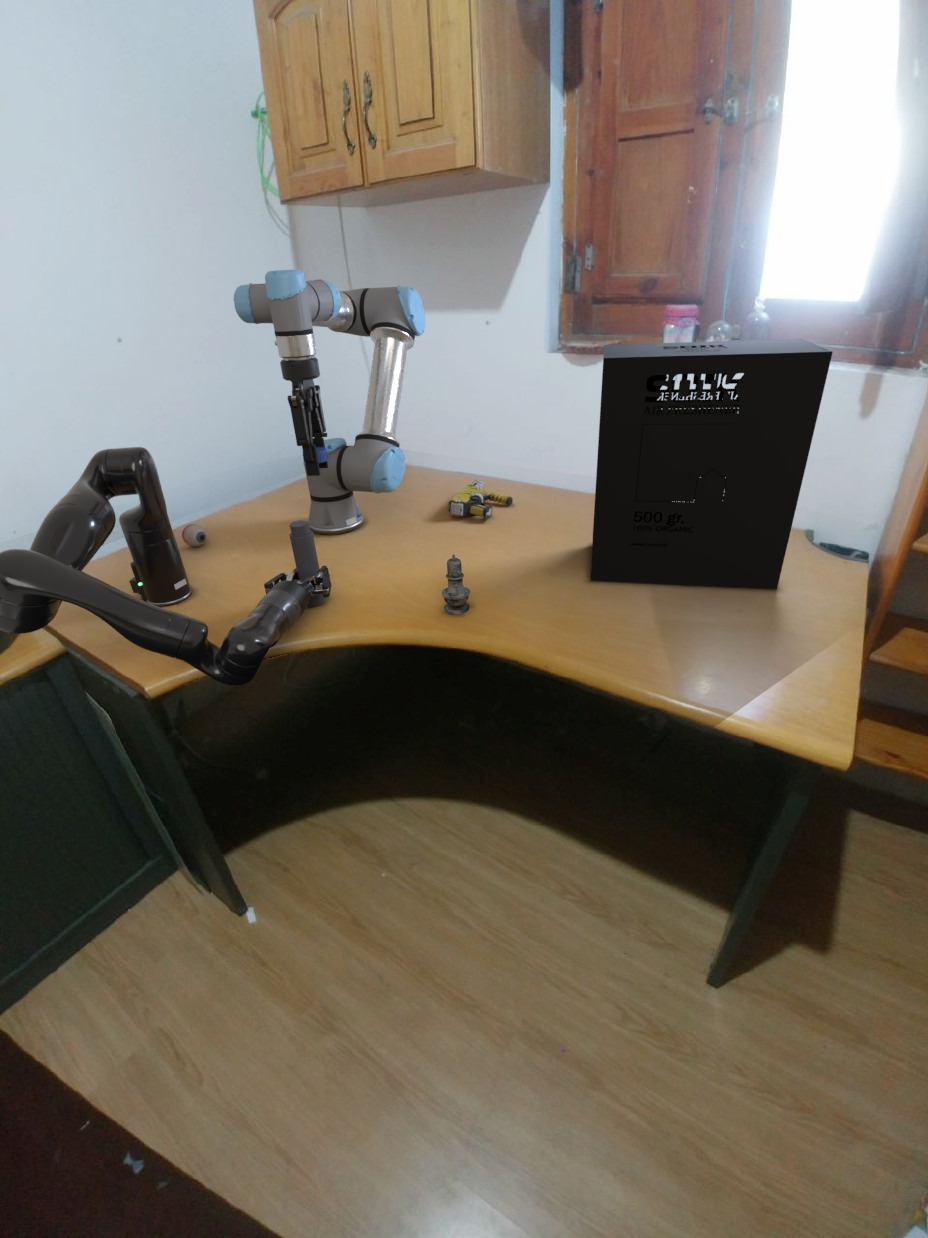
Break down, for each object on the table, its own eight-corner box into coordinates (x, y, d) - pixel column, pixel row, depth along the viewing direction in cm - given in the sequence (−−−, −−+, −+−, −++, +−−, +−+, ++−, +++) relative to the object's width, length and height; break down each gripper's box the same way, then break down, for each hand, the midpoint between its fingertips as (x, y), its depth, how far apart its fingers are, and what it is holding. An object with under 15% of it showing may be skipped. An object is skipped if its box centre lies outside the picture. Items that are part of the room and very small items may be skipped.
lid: (315, 465, 129) (314, 454, 128) (299, 462, 132) (297, 451, 131) (333, 458, 133) (331, 448, 132) (316, 456, 135) (314, 445, 134)
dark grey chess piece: (468, 615, 121) (465, 561, 115) (439, 614, 122) (435, 559, 116) (473, 601, 126) (471, 548, 120) (446, 600, 127) (442, 547, 121)
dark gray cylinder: (314, 595, 133) (299, 518, 124) (329, 599, 131) (315, 521, 122) (299, 603, 129) (282, 525, 121) (314, 608, 127) (298, 529, 118)
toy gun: (520, 484, 182) (474, 477, 186) (498, 508, 162) (446, 499, 166) (519, 500, 184) (473, 492, 188) (497, 524, 164) (445, 516, 168)
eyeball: (196, 552, 157) (189, 530, 154) (181, 548, 160) (174, 526, 157) (215, 543, 161) (209, 522, 158) (200, 540, 165) (193, 519, 162)
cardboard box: (756, 549, 141) (800, 338, 118) (776, 589, 124) (832, 351, 101) (592, 544, 148) (604, 344, 126) (590, 580, 131) (603, 357, 109)
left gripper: (250, 623, 118) (286, 584, 132) (320, 626, 115) (348, 585, 130) (241, 589, 114) (279, 552, 128) (313, 591, 112) (343, 553, 126)
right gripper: (295, 353, 130) (314, 460, 142) (263, 364, 115) (287, 484, 126) (329, 351, 129) (345, 459, 141) (301, 362, 114) (321, 483, 125)
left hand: (314, 569), depth 129 cm, fingers closed on dark gray cylinder, 4 cm apart
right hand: (318, 471), depth 133 cm, fingers closed on lid, 5 cm apart
